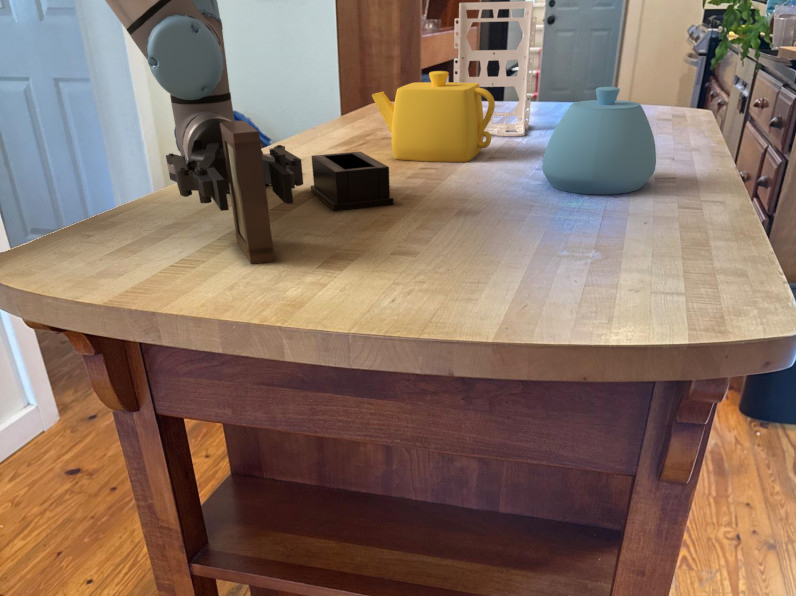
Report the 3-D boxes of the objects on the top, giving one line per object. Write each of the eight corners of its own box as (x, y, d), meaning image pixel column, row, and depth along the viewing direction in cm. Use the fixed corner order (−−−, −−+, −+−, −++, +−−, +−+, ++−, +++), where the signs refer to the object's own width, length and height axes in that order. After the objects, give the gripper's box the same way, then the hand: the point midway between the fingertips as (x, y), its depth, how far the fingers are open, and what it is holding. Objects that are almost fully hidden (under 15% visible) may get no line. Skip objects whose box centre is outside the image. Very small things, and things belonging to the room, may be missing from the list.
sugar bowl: (566, 169, 111) (576, 79, 104) (666, 179, 104) (683, 83, 98) (522, 189, 101) (529, 91, 94) (630, 201, 94) (646, 96, 88)
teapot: (363, 159, 121) (359, 75, 114) (387, 146, 130) (384, 67, 123) (484, 164, 116) (487, 75, 109) (499, 150, 125) (503, 67, 118)
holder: (310, 191, 103) (307, 156, 100) (365, 186, 105) (364, 151, 102) (334, 211, 94) (331, 172, 91) (393, 204, 96) (392, 166, 93)
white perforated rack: (449, 136, 137) (451, 3, 125) (454, 125, 148) (457, 2, 136) (528, 136, 136) (538, 1, 124) (528, 125, 147) (536, 0, 135)
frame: (237, 244, 83) (219, 122, 76) (259, 241, 83) (244, 120, 76) (250, 264, 77) (232, 133, 70) (274, 261, 77) (259, 131, 70)
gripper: (298, 179, 94) (350, 222, 77) (146, 194, 89) (165, 243, 72) (291, 112, 90) (345, 141, 72) (131, 123, 85) (147, 157, 67)
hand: (255, 192), depth 72 cm, fingers open, 6 cm apart
